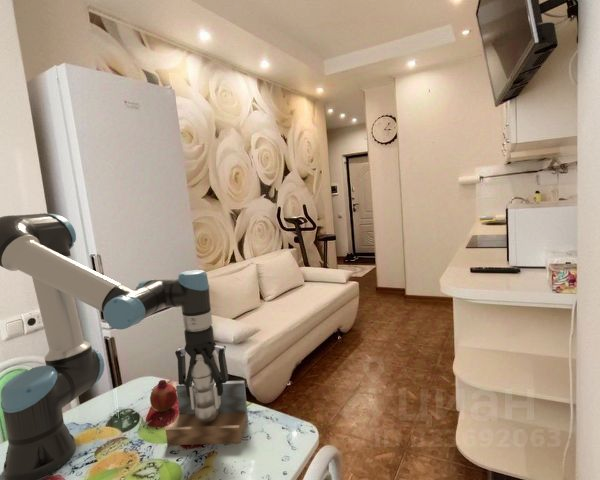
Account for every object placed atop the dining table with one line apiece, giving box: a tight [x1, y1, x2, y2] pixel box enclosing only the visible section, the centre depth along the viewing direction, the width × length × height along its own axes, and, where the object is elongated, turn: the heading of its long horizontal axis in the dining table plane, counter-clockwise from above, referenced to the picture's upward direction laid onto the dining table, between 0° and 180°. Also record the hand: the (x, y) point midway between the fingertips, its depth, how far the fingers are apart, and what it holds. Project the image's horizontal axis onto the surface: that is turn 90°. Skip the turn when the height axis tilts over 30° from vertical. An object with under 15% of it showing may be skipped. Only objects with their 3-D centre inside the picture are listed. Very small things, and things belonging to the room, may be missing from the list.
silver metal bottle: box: [191, 354, 219, 423], centre depth 97 cm, size 6×7×20 cm
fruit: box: [149, 379, 178, 412], centre depth 111 cm, size 8×8×10 cm
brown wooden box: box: [165, 380, 249, 446], centre depth 98 cm, size 20×10×12 cm, turn 87°
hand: (206, 405), depth 98 cm, fingers closed on silver metal bottle, 6 cm apart
